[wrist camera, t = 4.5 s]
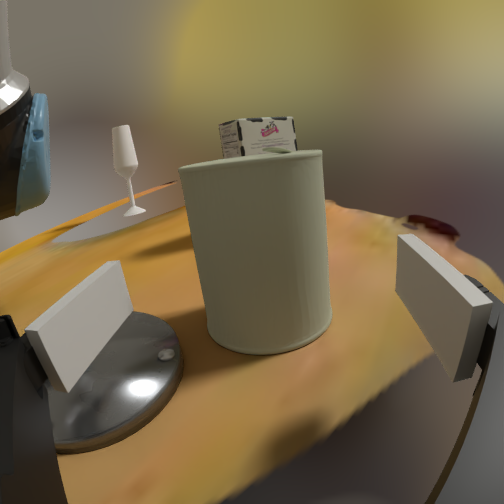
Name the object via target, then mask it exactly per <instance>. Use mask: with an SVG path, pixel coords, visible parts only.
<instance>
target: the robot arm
mask: <svg viewBox="0 0 504 504" xmlns="http://www.w3.org/2000/svg"><path fill="white" fill-rule="evenodd" d="M48 115H49V113H48V103H47V96H46V95H45V94H39V93H36V94H34V96H32V95H31V91H30V86H29V80H28V78H27V77H26V76H24V75H22V74H21V73H19V72H17V71H14V70H13V68H12V65H11V57H10V48H9V36H8V20H7V0H0V220H2V219H5V218H8V217H11V216H14V215H15V216H18V215H19V214H20V213H21V212H23V211H26V210H28V209H31V208H34V207H37V206H39V205H41V204H43V203H44V202H45V200H46V199H47V197H48V195H49V192H50V144H49V116H48ZM395 291H396V293H397V294H398V296H399V297H400V298H401V300H402V301H403V303H404V304H405V306H406V307H407V309H408V310H409V312H410V314H411V315H412V317H413V318H414V320H415V321H416V323H417V324H418V326H419V327H420V329H421V331H422V332H423V334H424V335H425V337H426V339H427V340H428V342H429V343H430V345H431V347H432V348H433V350H434V352H435V353H436V355H437V357H438V358H439V360H440V362H441V363H442V365H443V367H444V368H445V370H446V372H447V374H448V375H449V377H450V379H451V381H452V382H453V383H454V382H458V381H461V380H465V379H468V378H472V376H473V373H474V369H475V367H476V363H478V365H479V366H480V368H481V369H482V372H481V375H480V378H479V380H478V383H477V386H476V388H475V391H474V393H473V399H472V402H471V405H470V408H469V411H468V413H467V416H466V419H465V421H464V424H463V427H462V429H461V432H460V434H459V436H458V439H457V441H456V443H455V446H454V448H453V450H452V452H451V455H450V457H449V459H448V461H447V463H446V465H445V467H444V469H443V471H442V473H441V475H440V477H439V479H438V481H437V483H436V484H435V486H434V488H433V490H432V492H431V493H430V495H429V497H428V499H427V500H426V502H425V504H504V304H503V303H502V302H501V301H500V300H499V299H498V298H497V297H496V296H494V295H493V294H492V293H491V292H489V290H488V289H487V288H485V287H483V285H482V284H481V283H480V282H479V281H477V280H476V279H474V278H472V277H470V276H468V275H462V274H461V273H460V272H459V271H458V270H457V269H455V268H454V267H453V266H452V265H451V264H449V263H448V262H447V261H446V260H445V259H443V258H442V257H441V256H440V255H439V254H437V253H436V252H435V251H434V250H432V249H431V248H430V247H429V246H428V245H426V244H425V243H424V242H422V241H421V240H420V239H419V238H417V237H416V236H415V235H414V234H405V235H398V242H397V271H396V288H395ZM133 310H134V309H133V306H132V303H131V300H130V296H129V293H128V289H127V286H126V282H125V279H124V275H123V271H122V268H121V264H120V261H109V262H106V263H105V264H104V265H102V266H101V267H100V268H98V269H97V270H96V271H95V272H93V273H92V274H91V275H89V276H88V277H87V278H86V279H84V280H83V281H82V282H81V283H79V284H78V285H77V286H76V287H74V288H73V289H72V290H71V291H69V292H68V293H67V294H66V295H64V296H63V297H62V298H61V299H60V300H58V301H57V302H56V303H55V304H53V305H52V306H51V307H50V308H49V309H48V310H46V311H45V312H44V313H43V314H42V315H40V316H39V317H38V318H37V319H36V320H35V321H33V322H32V323H31V324H30V325H29V326H28V327H27V328H25V329H24V330H25V333H24V334H23V335H22V336H21V337H20V336H19V334H18V332H17V329H16V327H15V325H14V322H13V320H12V318H11V316H10V315H2V316H0V504H68V502H67V498H66V495H65V491H64V487H63V483H62V479H61V474H60V470H59V465H58V460H57V455H56V450H55V444H54V438H53V432H52V425H51V418H50V410H49V400H48V391H47V389H46V387H45V385H44V382H45V381H46V380H47V379H49V381H50V383H51V385H52V386H53V388H54V390H56V391H60V392H65V393H69V392H70V390H71V389H72V388H73V386H74V385H75V384H76V382H77V381H78V380H79V378H80V377H81V376H82V374H83V373H84V372H85V370H86V369H87V368H88V367H89V365H90V364H91V363H92V361H93V360H94V359H95V357H96V356H97V355H98V354H99V352H100V351H101V350H102V349H103V347H104V346H105V345H106V343H107V342H108V341H109V340H110V338H111V337H112V336H113V335H114V333H115V332H116V331H117V330H118V328H119V327H120V326H121V325H122V323H123V322H124V321H125V320H126V318H127V317H128V316H129V315H130V314H131V312H132V311H133Z"/></svg>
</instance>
